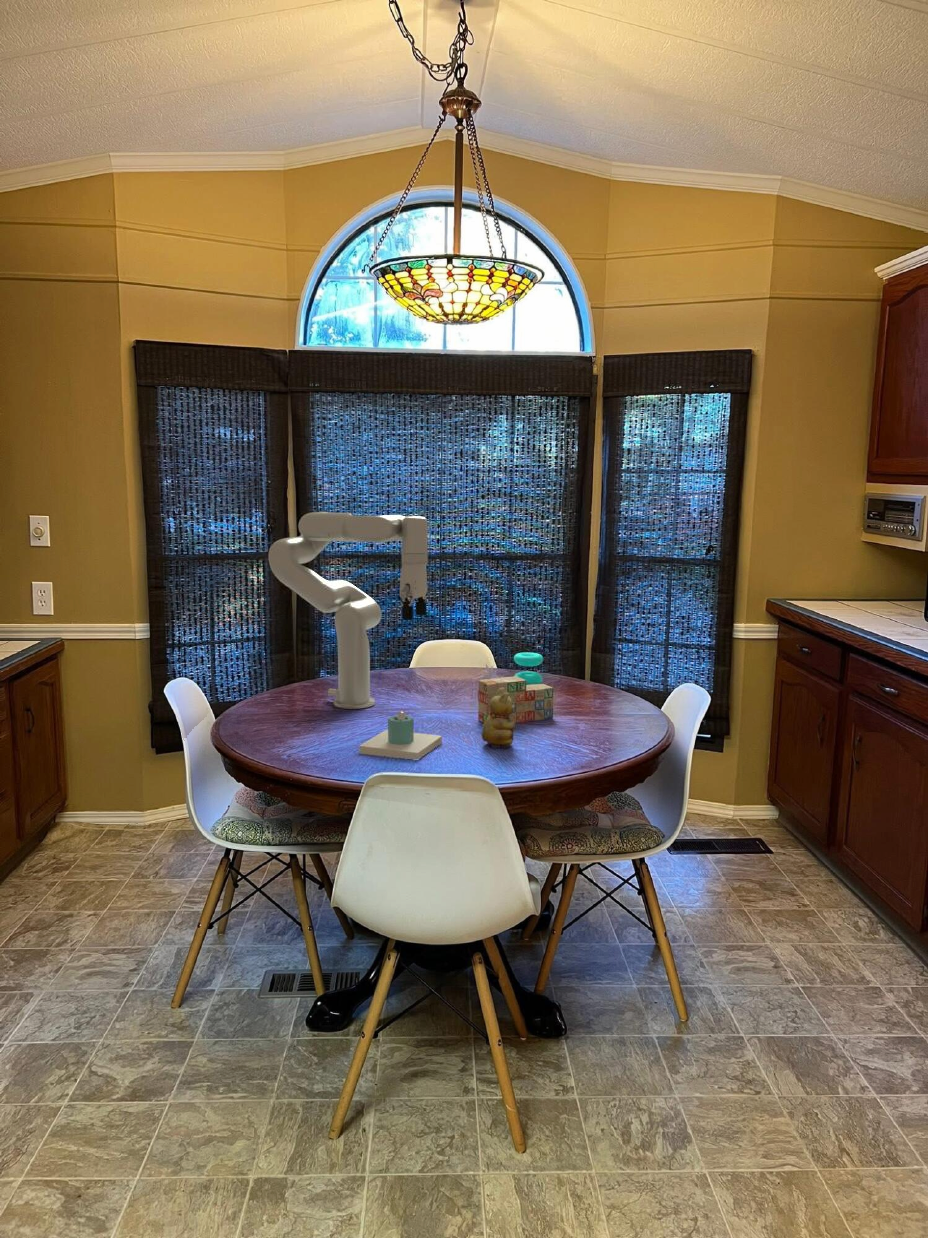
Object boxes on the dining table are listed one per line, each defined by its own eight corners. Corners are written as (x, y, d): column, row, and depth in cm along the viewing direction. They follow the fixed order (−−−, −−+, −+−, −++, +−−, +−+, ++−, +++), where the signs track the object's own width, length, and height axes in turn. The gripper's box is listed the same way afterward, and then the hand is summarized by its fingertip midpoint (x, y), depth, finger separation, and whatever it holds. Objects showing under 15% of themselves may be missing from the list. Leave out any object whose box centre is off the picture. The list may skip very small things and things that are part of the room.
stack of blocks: (542, 713, 266) (543, 673, 264) (553, 719, 261) (554, 677, 259) (477, 721, 258) (478, 679, 256) (487, 726, 252) (487, 683, 250)
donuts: (542, 657, 299) (512, 656, 300) (541, 687, 300) (512, 685, 302) (544, 652, 309) (515, 651, 310) (543, 680, 310) (514, 679, 311)
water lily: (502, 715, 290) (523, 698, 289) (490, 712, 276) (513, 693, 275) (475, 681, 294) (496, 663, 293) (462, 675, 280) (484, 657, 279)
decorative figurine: (518, 749, 230) (519, 692, 228) (488, 751, 228) (488, 694, 226) (506, 739, 239) (507, 684, 237) (476, 741, 237) (477, 685, 235)
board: (359, 753, 225) (359, 716, 224) (386, 736, 240) (386, 702, 239) (417, 760, 220) (417, 723, 218) (441, 743, 235) (442, 708, 233)
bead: (385, 742, 228) (385, 720, 227) (395, 736, 233) (395, 714, 232) (406, 745, 226) (406, 722, 225) (416, 739, 231) (416, 716, 230)
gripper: (414, 556, 270) (414, 612, 272) (390, 560, 254) (390, 620, 256) (437, 557, 267) (437, 614, 270) (414, 562, 251) (414, 622, 254)
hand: (414, 617), depth 263 cm, fingers open, 9 cm apart
